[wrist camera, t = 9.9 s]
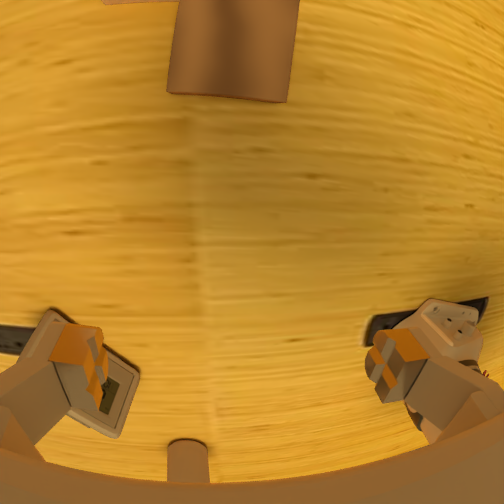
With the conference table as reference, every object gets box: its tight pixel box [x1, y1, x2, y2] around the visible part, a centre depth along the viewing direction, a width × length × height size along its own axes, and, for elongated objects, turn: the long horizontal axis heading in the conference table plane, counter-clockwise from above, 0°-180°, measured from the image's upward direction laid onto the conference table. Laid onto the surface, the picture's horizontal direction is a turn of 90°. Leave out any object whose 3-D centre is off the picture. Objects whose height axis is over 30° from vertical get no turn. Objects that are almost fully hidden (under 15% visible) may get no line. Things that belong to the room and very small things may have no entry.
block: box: [166, 0, 300, 103], centre depth 24 cm, size 10×10×5 cm
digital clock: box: [16, 310, 140, 439], centre depth 34 cm, size 16×9×11 cm, turn 30°
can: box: [167, 440, 210, 483], centre depth 46 cm, size 8×8×12 cm
